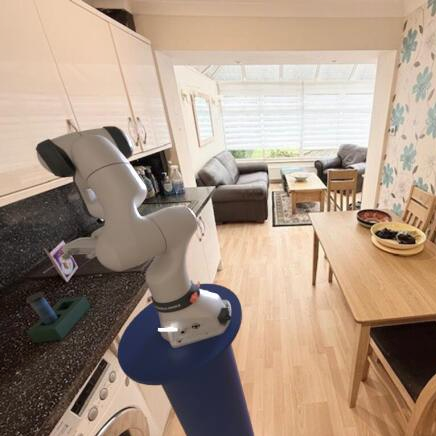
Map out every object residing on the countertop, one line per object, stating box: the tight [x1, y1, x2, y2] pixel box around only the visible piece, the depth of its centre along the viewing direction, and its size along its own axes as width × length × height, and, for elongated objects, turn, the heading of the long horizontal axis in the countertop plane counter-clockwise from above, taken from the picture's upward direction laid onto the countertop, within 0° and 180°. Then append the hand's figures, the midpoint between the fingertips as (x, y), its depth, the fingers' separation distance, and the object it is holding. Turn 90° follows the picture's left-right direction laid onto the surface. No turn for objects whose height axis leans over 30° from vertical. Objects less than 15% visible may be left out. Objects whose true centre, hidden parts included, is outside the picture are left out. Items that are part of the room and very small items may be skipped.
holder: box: [26, 295, 91, 344], centre depth 81 cm, size 8×14×5 cm, turn 7°
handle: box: [25, 291, 58, 325], centre depth 76 cm, size 4×4×15 cm
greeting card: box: [42, 240, 79, 283], centre depth 103 cm, size 11×7×15 cm, turn 20°
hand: (75, 257), depth 86 cm, fingers open, 8 cm apart
